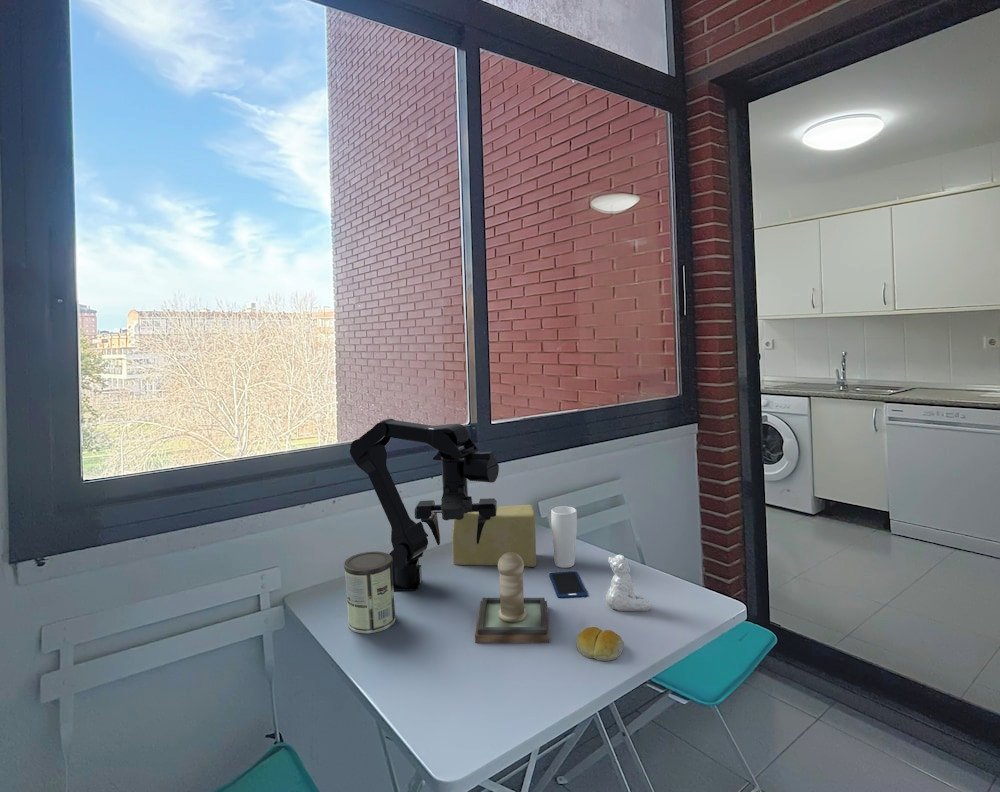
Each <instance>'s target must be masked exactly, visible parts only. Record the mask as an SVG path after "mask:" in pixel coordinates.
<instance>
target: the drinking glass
mask: <svg viewBox="0 0 1000 792" xmlns="http://www.w3.org/2000/svg"><path fill="white" fill-rule="evenodd" d="M550 512H551V513H550V521H551V522H550V525H551V536H552V544H553V556H554V557H553V560H554V562H553V563H554V564H555V566H556V567H558V568H562V569H568V568H572V567H573V566H574V565H575V562H576V561H575V558H576V557H575V556H576V544H577V543H576V542H577V530H578V513H577V508H575V507H572V506H563V505H562V506H561V505H560V506H555V507H553V508H551V511H550Z"/></svg>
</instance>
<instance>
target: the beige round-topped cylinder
mask: <svg viewBox="0 0 1000 792" xmlns="http://www.w3.org/2000/svg"><path fill="white" fill-rule="evenodd" d="M524 569H525V567H524V562H523V560H522V558H521V557H520V556H519V555H518V554H516V553H514V552H508V553H505V554H503V555H502V556H501V557H500V559H499V561H498V566H497V571H498V572H499V596H500V597H499V598H500V602H501V609H500V610H499V619H500V620H502V621H504V622H508V623H516V622H520V621H523V620H524V619H525V618H526V617H527V611H526V609H525V608H524V598H525V597H524V596H525V595H524Z"/></svg>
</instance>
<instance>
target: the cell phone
mask: <svg viewBox="0 0 1000 792" xmlns="http://www.w3.org/2000/svg"><path fill="white" fill-rule="evenodd" d="M548 576H549V579H550V581H551V584H552V587H553V589H554V592H555V595H556V597H557V598H558V599H573V598H574V599H575V598H586V597H589V595H588V591H587V589H586V588H585V586H584V583H583V581H582V579H581V577H580V576H579V573H578V571H575V570H572V571H571V570H570V571H555V572H549V573H548Z"/></svg>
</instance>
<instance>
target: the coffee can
mask: <svg viewBox="0 0 1000 792" xmlns="http://www.w3.org/2000/svg"><path fill="white" fill-rule="evenodd" d="M392 562H393V558H392V556H391V555H390V554H389V553H387V552H384V551H366V552H360V553H357V554H355V555H352V556H349V557H347V559H345V560H344V563H343V568H344V577H345V579H344V580H345V590H346V591H345V592H346V606H347V617H348V618H347V619H348V621H347V622H348V623H347V624H348V629H350V631H352V632H355V633H358V634H375V633H380V632H382V631H384V630H387V629H389V628H390V627H392V625H393V624H394V623H395V622H396V607H395V606H396V605H395V590H394V588H393V571H392Z"/></svg>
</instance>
